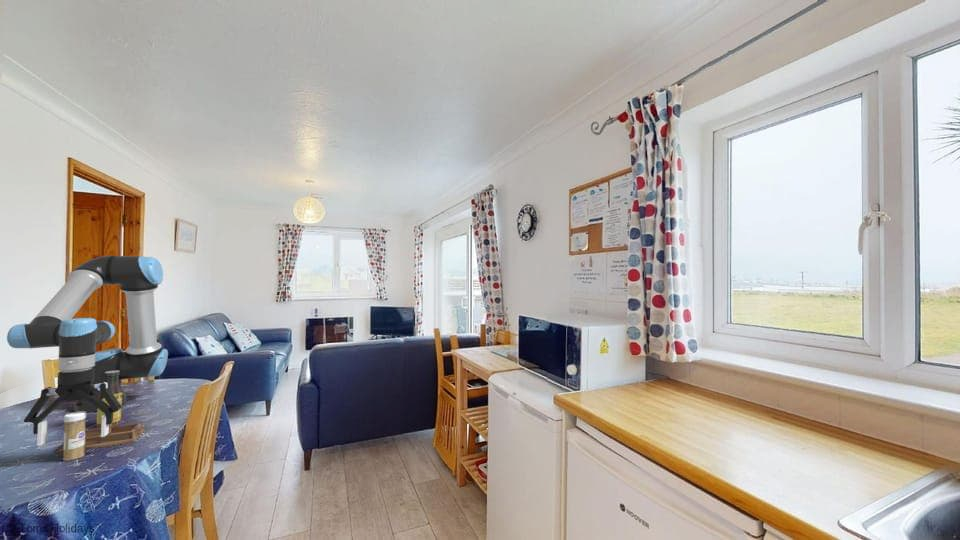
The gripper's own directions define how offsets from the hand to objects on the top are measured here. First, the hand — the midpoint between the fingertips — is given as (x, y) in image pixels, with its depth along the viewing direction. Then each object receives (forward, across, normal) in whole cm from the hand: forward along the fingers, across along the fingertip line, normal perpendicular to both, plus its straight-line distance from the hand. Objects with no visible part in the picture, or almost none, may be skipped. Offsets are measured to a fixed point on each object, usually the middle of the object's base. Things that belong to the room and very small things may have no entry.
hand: (74, 439), depth 109 cm
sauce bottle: (+6, -1, +26) cm, 27 cm away
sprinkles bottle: (+6, 0, 0) cm, 6 cm away
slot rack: (+5, +3, +11) cm, 13 cm away
